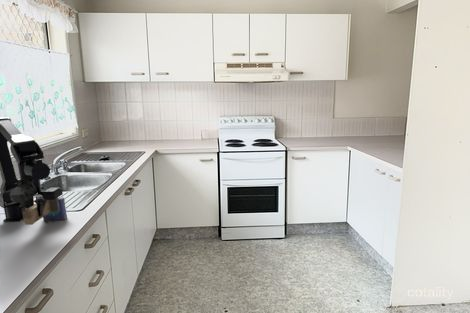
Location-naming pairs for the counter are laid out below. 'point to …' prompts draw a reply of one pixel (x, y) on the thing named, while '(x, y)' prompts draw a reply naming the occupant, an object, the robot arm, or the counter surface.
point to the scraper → (32, 212)
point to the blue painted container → (57, 212)
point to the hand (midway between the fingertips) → (36, 216)
